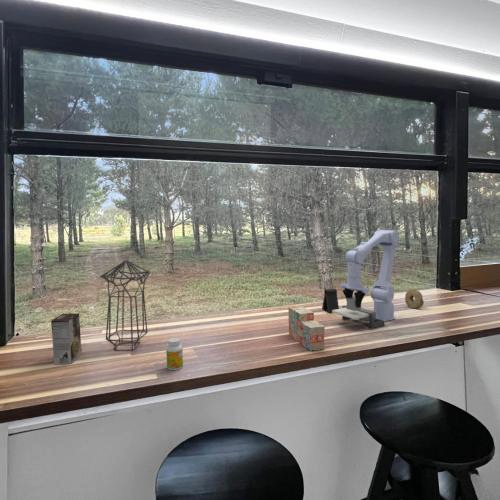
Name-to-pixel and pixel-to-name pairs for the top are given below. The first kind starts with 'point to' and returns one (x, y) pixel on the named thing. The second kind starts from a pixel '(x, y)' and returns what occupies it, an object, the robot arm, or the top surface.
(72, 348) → the coffee box
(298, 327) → the stack of blocks
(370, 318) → the frame
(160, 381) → the top surface
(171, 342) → the supplement bottle
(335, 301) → the phone stand
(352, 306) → the stone block
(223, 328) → the top surface
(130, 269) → the geometric lantern
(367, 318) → the trapdoor
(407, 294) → the stone disc
